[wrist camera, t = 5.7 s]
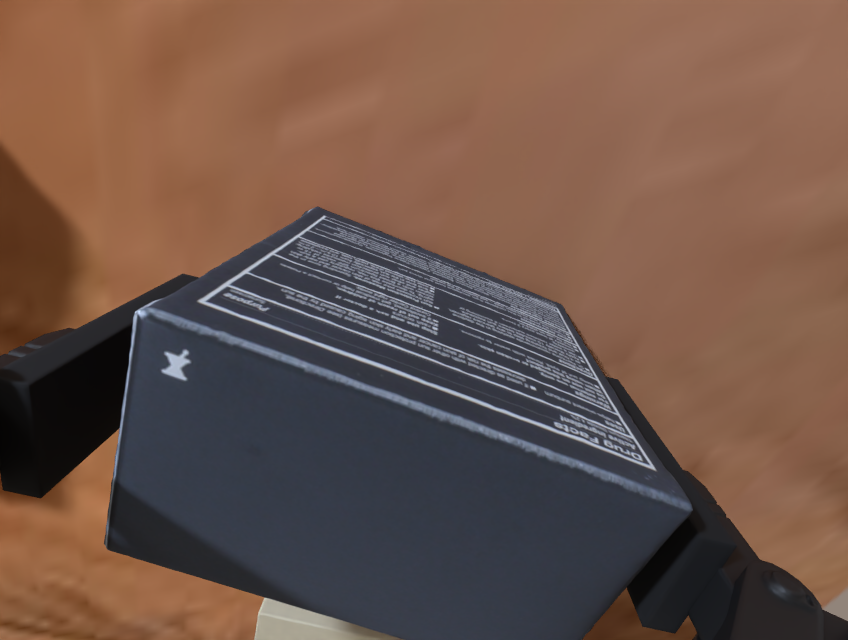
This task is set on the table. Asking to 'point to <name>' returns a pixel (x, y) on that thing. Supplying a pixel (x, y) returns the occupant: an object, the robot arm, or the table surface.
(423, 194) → the table surface
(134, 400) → the small box
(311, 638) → the cream cube
